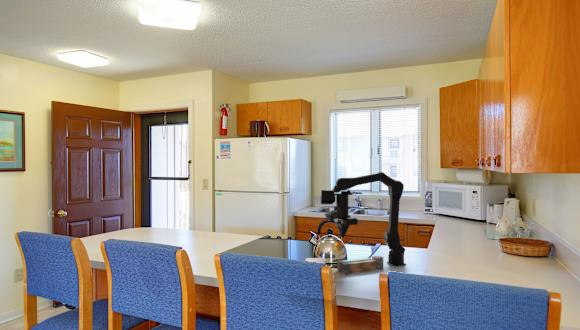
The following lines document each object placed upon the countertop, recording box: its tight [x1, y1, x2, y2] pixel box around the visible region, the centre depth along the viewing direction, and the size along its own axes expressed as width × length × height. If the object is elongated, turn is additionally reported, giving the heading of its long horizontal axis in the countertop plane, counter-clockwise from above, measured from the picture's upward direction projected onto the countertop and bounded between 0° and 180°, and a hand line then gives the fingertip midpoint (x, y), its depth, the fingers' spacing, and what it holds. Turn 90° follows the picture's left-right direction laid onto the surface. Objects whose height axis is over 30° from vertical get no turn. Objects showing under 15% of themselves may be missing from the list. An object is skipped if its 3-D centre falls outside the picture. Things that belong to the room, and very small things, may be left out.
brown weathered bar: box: [336, 257, 372, 273], centre depth 170 cm, size 16×3×4 cm, turn 111°
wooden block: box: [341, 255, 384, 276], centre depth 169 cm, size 22×6×5 cm, turn 112°
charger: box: [304, 257, 326, 265], centre depth 166 cm, size 5×9×15 cm
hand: (342, 237), depth 179 cm, fingers closed
